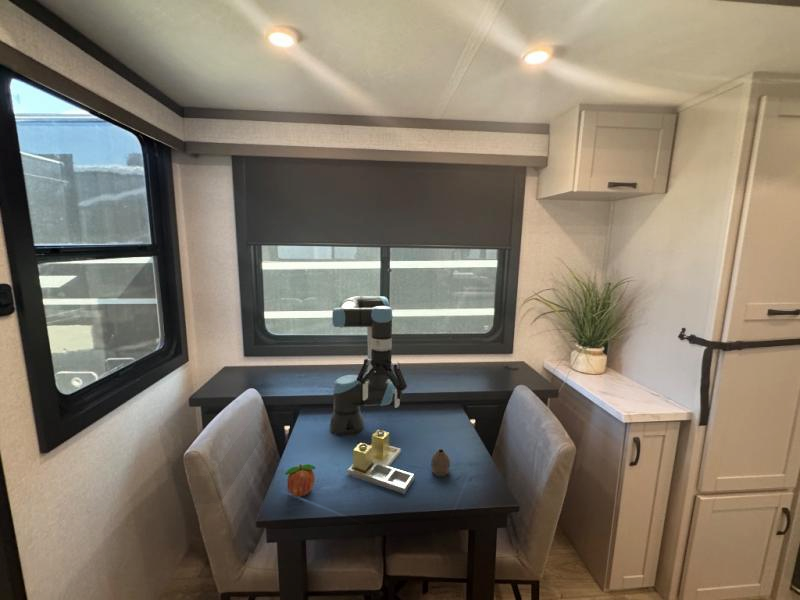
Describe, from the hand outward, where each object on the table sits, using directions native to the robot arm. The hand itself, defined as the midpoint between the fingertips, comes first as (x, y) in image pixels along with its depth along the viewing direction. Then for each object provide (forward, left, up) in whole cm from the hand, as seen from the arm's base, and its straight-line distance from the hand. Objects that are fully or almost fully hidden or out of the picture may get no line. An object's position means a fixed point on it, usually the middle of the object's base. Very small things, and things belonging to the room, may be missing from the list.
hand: (380, 402), depth 130 cm
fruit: (-14, -29, -22) cm, 39 cm away
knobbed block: (0, 0, -22) cm, 22 cm away
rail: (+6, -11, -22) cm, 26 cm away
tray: (0, 0, -22) cm, 22 cm away
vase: (+24, +1, -22) cm, 33 cm away
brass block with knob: (-1, -11, -22) cm, 24 cm away
